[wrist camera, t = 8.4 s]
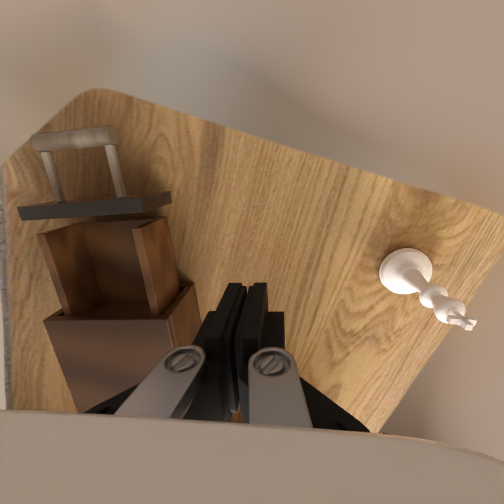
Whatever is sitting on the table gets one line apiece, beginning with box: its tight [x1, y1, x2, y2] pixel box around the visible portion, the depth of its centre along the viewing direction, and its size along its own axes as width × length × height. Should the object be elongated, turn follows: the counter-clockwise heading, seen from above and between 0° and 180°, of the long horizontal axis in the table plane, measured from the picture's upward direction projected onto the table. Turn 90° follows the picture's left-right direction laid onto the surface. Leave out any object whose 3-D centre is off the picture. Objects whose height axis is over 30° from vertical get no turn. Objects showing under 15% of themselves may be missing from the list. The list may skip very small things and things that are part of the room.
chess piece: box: [379, 248, 477, 330], centre depth 22 cm, size 5×5×10 cm
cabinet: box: [43, 283, 201, 413], centre depth 29 cm, size 14×13×8 cm
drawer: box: [17, 126, 181, 316], centre depth 25 cm, size 18×11×6 cm, turn 5°
